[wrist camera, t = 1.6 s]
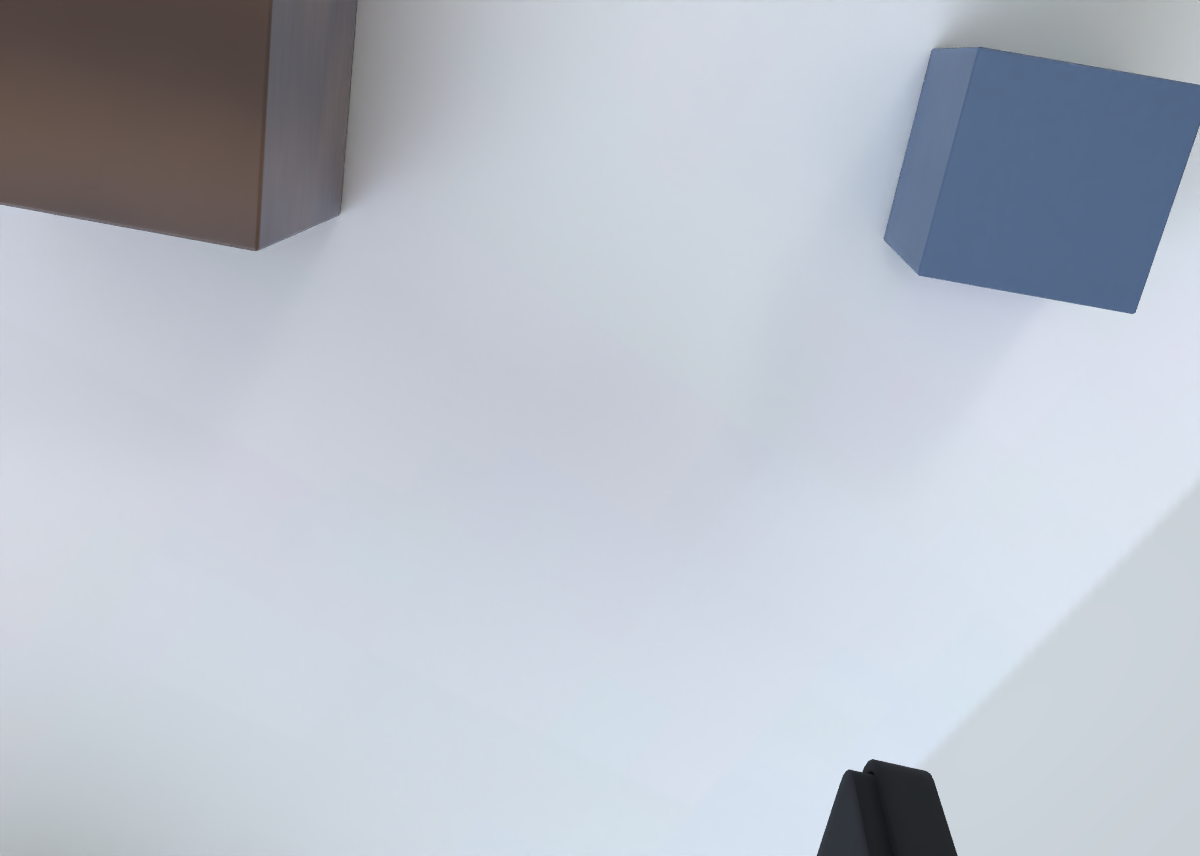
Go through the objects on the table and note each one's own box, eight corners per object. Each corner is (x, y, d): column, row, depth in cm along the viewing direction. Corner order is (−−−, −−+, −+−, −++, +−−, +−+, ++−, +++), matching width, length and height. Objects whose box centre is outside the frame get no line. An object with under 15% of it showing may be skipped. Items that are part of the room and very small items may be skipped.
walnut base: (28, -193, 28) (-146, -257, 22) (368, -136, 27) (281, -185, 22) (34, 160, 31) (-118, 183, 25) (340, 215, 30) (257, 252, 25)
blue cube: (932, 48, 27) (979, 46, 23) (1126, 81, 27) (1214, 87, 23) (883, 240, 29) (917, 275, 24) (1065, 273, 29) (1135, 314, 24)
